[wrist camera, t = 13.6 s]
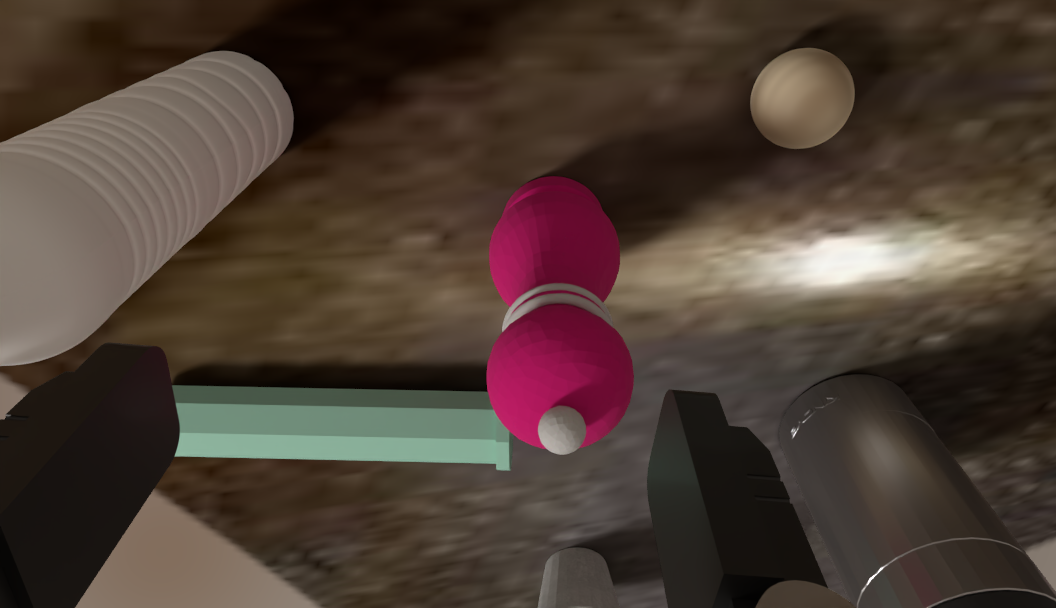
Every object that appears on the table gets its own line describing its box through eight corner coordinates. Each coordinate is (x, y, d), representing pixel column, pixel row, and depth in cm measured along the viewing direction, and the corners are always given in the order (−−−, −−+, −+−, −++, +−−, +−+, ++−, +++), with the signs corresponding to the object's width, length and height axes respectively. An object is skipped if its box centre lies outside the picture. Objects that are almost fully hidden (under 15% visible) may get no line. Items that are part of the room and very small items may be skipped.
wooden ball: (852, 78, 38) (893, 100, 33) (784, 151, 40) (814, 180, 35) (788, 20, 36) (822, 35, 32) (720, 98, 38) (743, 122, 34)
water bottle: (176, 36, 37) (-336, 216, 15) (299, 64, 38) (-27, 276, 16) (180, 187, 41) (-218, 497, 20) (290, 211, 42) (23, 535, 20)
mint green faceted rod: (123, 477, 45) (508, 487, 44) (117, 388, 44) (509, 396, 44) (172, 447, 51) (513, 455, 50) (168, 368, 50) (513, 375, 49)
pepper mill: (631, 190, 41) (699, 397, 24) (586, 291, 44) (617, 537, 27) (515, 150, 40) (497, 336, 23) (478, 257, 43) (438, 490, 26)
